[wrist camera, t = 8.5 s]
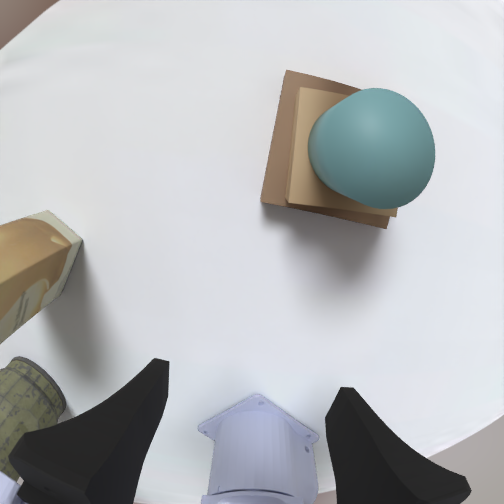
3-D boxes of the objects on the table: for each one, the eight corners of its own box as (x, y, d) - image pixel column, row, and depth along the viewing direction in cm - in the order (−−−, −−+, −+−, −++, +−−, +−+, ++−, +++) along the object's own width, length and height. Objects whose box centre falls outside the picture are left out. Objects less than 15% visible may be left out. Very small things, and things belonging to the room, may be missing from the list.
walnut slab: (395, 112, 17) (411, 107, 15) (373, 221, 20) (386, 229, 17) (283, 80, 17) (286, 69, 15) (260, 196, 19) (260, 201, 17)
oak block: (391, 115, 15) (408, 110, 13) (381, 210, 17) (395, 217, 15) (295, 95, 15) (300, 86, 13) (285, 197, 17) (288, 202, 15)
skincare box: (62, 296, 21) (-30, 379, 10) (28, 266, 21) (-69, 331, 9) (86, 235, 20) (-35, 308, 8) (48, 204, 19) (-75, 252, 7)
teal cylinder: (410, 159, 14) (452, 163, 10) (347, 214, 15) (376, 233, 11) (356, 87, 13) (387, 67, 9) (287, 141, 14) (299, 135, 10)
